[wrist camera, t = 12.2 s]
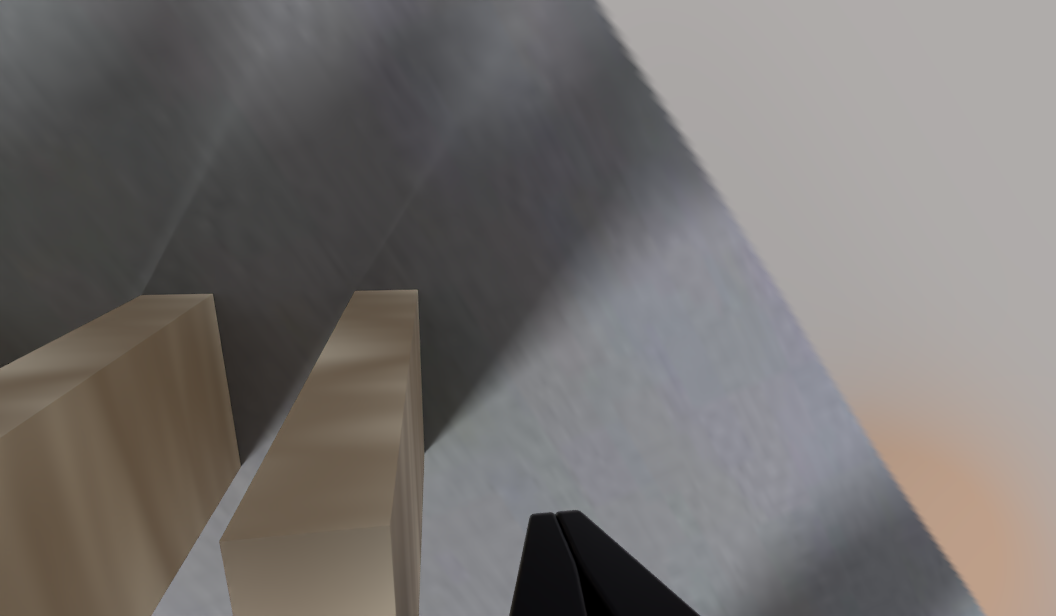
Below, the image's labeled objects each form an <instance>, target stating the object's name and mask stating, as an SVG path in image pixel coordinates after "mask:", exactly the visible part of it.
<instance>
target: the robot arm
mask: <svg viewBox="0 0 1056 616" xmlns="http://www.w3.org/2000/svg"><path fill="white" fill-rule="evenodd" d="M509 616H700V615H699V614H698V613H697V612H695V611H694V610H693V609H692V608H691V607H690V606H689V605H687V604H686V603H685V602H684V601H683V600H682V599H681V598H679V597H678V596H677V595H676V594H675V593H674V592H673V591H671V590H670V589H669V588H668V587H667V586H666V585H665V584H663V583H662V582H661V581H660V580H659V579H658V578H656V577H655V576H654V575H653V574H652V573H651V572H650V571H648V570H647V569H646V568H645V567H644V566H643V565H642V564H640V563H639V562H638V561H637V560H636V559H635V558H634V557H632V556H631V555H630V554H629V553H628V552H627V551H626V550H624V549H623V548H622V547H621V546H620V545H619V544H618V543H616V542H615V541H614V540H613V539H612V538H611V537H610V536H608V535H607V534H606V533H605V532H604V531H603V530H602V529H600V528H599V527H598V526H597V525H596V524H595V523H594V522H592V521H591V520H590V519H589V518H588V517H587V516H586V515H584V514H583V513H582V512H581V511H578V510H570V511H559V512H557V513H556V514H554V513H552V512H548V513H536V514H532V515H531V516H530V518H529V523H528V528H527V533H526V538H525V542H524V547H523V552H522V557H521V562H520V566H519V571H518V576H517V581H516V586H515V591H514V595H513V600H512V605H511V610H510V615H509Z"/></svg>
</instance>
